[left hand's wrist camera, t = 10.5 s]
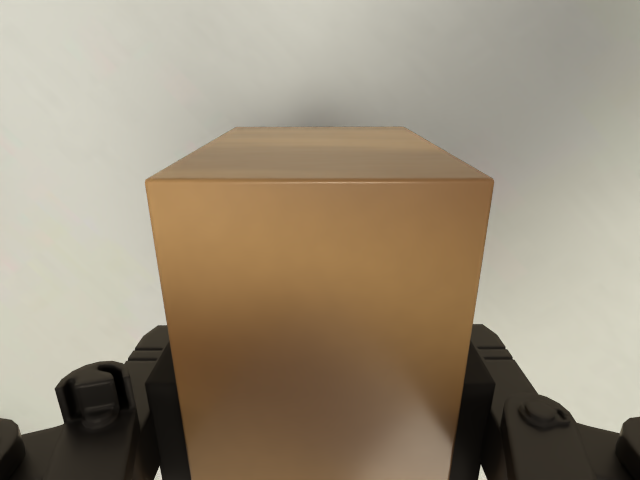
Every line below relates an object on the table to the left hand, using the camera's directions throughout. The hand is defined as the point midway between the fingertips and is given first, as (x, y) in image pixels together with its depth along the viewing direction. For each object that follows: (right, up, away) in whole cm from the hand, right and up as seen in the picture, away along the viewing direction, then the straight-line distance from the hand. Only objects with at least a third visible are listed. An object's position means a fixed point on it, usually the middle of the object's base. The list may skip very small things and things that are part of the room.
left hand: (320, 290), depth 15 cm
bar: (0, -17, +7) cm, 19 cm away
